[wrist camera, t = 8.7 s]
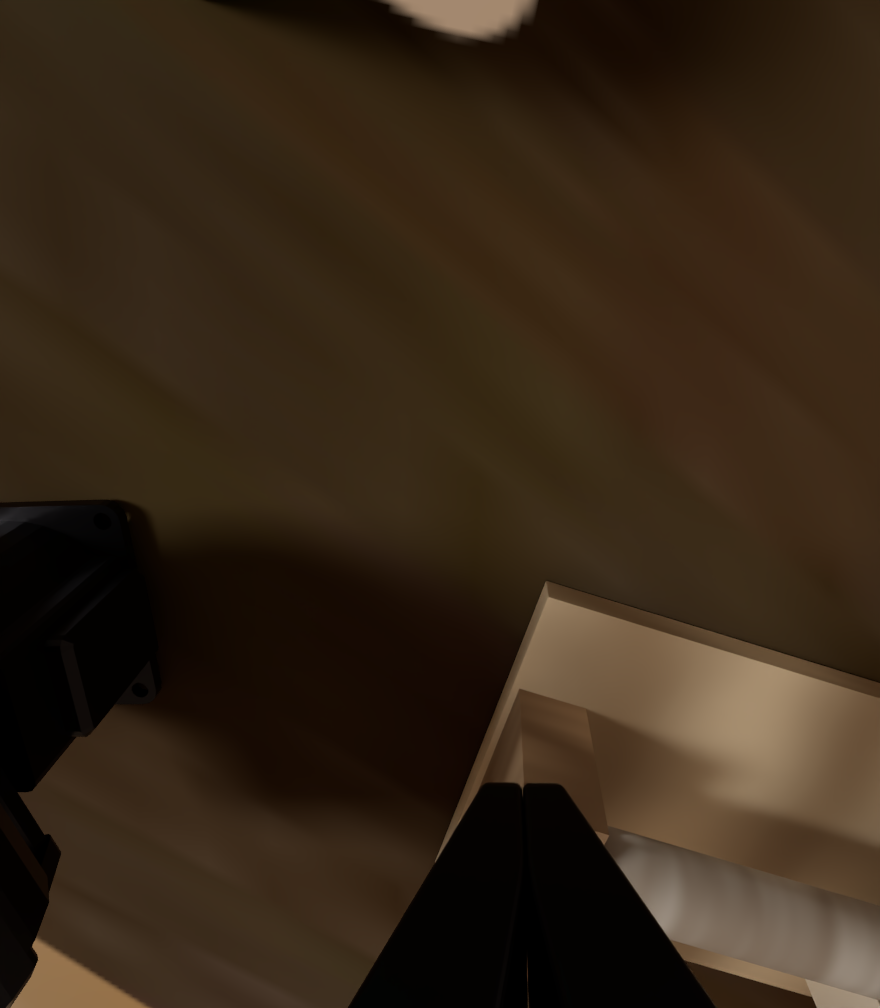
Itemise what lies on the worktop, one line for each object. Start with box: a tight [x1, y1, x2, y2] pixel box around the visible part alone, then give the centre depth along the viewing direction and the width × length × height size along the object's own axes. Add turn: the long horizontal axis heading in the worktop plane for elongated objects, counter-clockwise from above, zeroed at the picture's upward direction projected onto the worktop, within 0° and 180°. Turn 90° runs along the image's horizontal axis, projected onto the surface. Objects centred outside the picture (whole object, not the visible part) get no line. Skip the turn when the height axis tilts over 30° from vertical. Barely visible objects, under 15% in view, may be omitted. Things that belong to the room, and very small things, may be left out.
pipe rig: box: [435, 581, 880, 1000], centre depth 21 cm, size 18×11×6 cm, turn 73°
